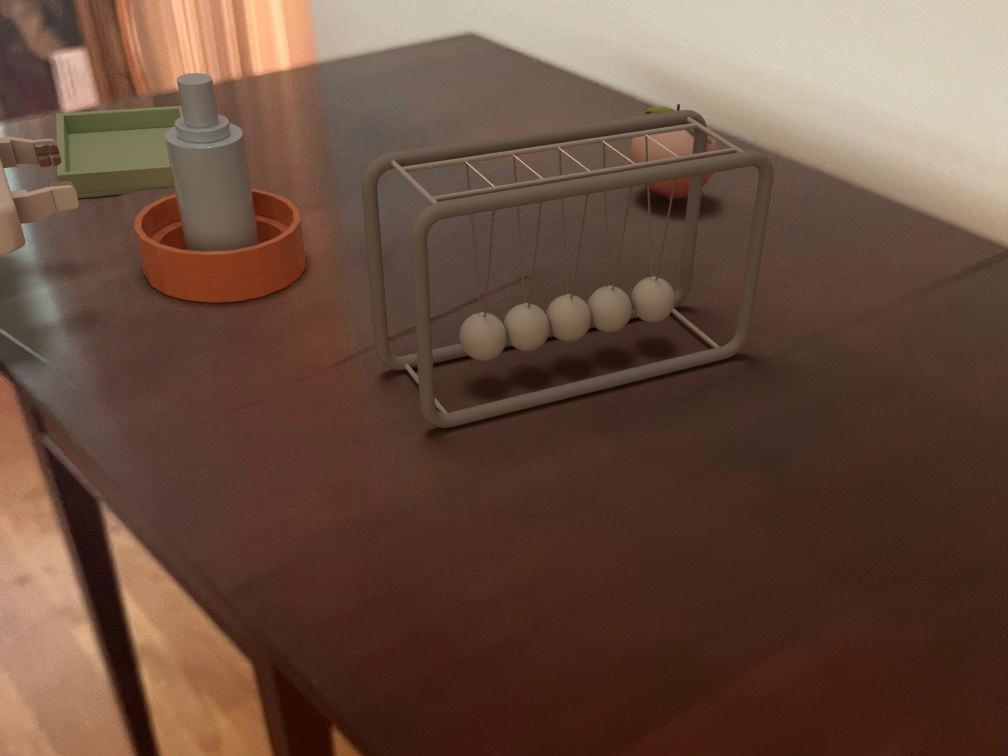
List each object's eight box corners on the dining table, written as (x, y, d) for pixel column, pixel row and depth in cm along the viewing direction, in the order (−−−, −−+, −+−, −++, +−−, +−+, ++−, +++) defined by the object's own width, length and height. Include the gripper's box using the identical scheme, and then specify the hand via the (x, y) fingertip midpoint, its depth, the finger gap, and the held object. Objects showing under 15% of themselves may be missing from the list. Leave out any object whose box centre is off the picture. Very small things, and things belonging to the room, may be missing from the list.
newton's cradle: (684, 303, 107) (706, 104, 95) (748, 356, 100) (780, 149, 89) (375, 371, 95) (356, 154, 84) (424, 436, 89) (412, 210, 77)
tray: (204, 188, 121) (199, 164, 119) (63, 199, 117) (57, 175, 115) (189, 127, 133) (185, 105, 131) (61, 136, 129) (55, 113, 127)
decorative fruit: (609, 200, 124) (615, 103, 117) (654, 178, 129) (662, 84, 122) (682, 226, 120) (693, 127, 113) (725, 202, 125) (737, 106, 118)
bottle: (218, 288, 104) (184, 97, 93) (175, 265, 106) (137, 76, 96) (276, 266, 107) (250, 79, 96) (234, 244, 110) (204, 60, 99)
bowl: (208, 324, 100) (198, 269, 96) (114, 269, 106) (102, 216, 103) (338, 272, 108) (332, 220, 105) (243, 224, 115) (235, 174, 111)
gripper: (-113, 183, 100) (58, 163, 105) (-99, 287, 87) (96, 259, 92) (-140, 108, 96) (40, 91, 101) (-129, 205, 83) (77, 180, 88)
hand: (67, 172), depth 96 cm, fingers open, 8 cm apart
